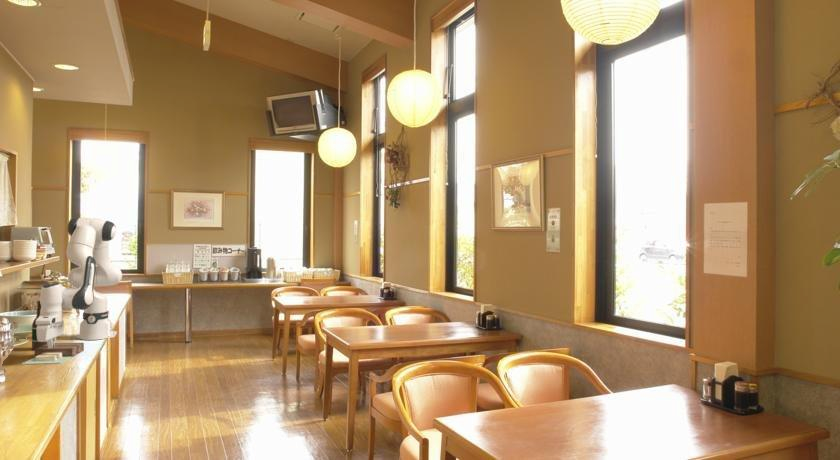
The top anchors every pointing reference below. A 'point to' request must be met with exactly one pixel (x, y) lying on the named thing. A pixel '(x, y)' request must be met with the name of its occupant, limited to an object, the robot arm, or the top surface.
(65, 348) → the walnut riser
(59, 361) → the rubber mat
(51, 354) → the birch tile
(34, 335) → the beer bottle
